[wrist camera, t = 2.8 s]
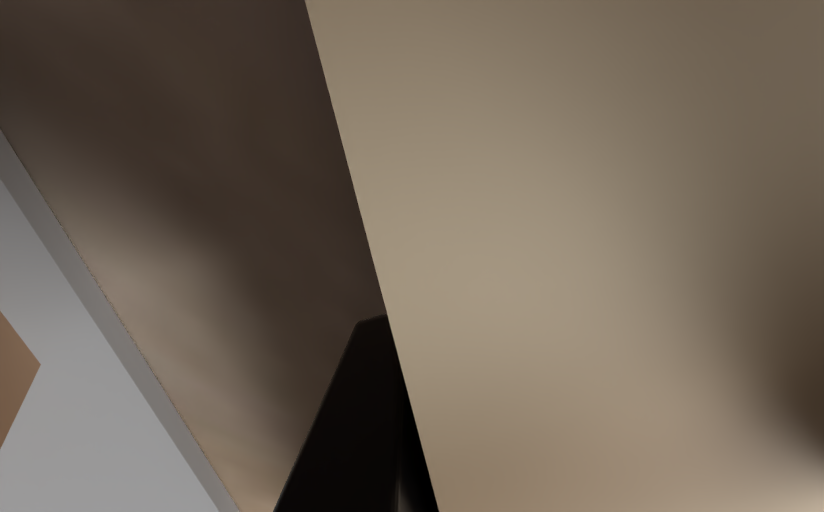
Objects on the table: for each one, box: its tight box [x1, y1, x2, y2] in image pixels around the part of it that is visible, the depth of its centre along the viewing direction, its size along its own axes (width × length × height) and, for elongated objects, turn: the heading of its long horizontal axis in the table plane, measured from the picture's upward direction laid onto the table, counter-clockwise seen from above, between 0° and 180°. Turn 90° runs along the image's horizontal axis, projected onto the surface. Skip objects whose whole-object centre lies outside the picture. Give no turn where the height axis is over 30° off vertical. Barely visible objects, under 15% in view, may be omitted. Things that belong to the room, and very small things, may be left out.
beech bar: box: [305, 0, 824, 512], centre depth 7 cm, size 18×4×4 cm, turn 11°
